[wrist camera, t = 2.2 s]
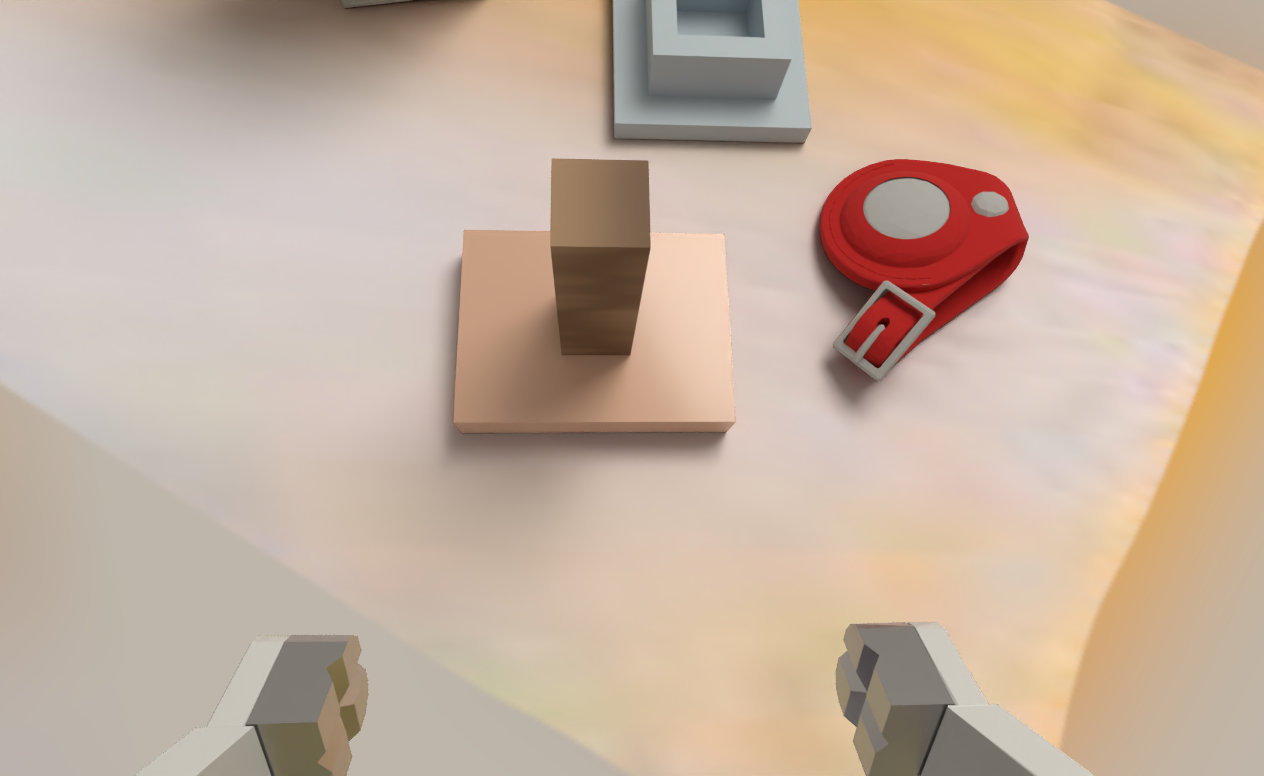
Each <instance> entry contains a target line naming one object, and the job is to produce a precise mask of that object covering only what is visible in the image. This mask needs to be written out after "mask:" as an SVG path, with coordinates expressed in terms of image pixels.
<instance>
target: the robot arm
mask: <svg viewBox="0 0 1264 776" xmlns="http://www.w3.org/2000/svg"><path fill="white" fill-rule="evenodd" d="M843 640H844V643H845V645H846V648H847V650H848V651H846V652H845V653H844V654H843V655H842V656H840V657H839V658H838V663H837V668H836V690H837V695H838V699H839V703H840V706H841V709H842V712H843V715H844V716H845V717H846V718H847V719H848V720H849V721H850V722H851V723H852V724H854V725H855V726H856V727H857V728H856V732H855V735H854V739H853V742H854V745H855V748H856V750H857V753H858V756H859V759H860V761H861V764H862V767H863V769H864V772H865V775H866V776H1095V775H1093V774H1092V773H1090V772H1089V771H1088V770H1086V769H1085V768H1084V767H1082V766H1081V765H1079V764H1078V763H1077V762H1076V761H1074V760H1073V759H1071V758H1070V757H1069V756H1067V755H1066V754H1065V753H1063V752H1062V751H1061V750H1059V749H1058V748H1057V747H1055V746H1054V745H1052V744H1051V743H1050V742H1048V741H1047V740H1046V739H1044V738H1043V737H1042V736H1040V735H1039V734H1037V733H1036V732H1035V731H1033V730H1032V729H1031V728H1029V727H1028V726H1027V725H1025V724H1024V723H1022V722H1021V721H1020V720H1018V719H1017V718H1016V717H1014V716H1013V715H1012V714H1010V713H1009V712H1008V711H1006V710H1005V709H1003V708H1002V707H1001V706H999V705H998V704H989V703H988V702H987V700H986V698H985V697H984V695H983V693H982V692H981V690H980V688H979V686H978V685H977V683H976V681H975V680H974V678H973V676H972V674H971V673H970V671H969V669H968V668H967V666H966V664H965V663H964V661H963V659H962V657H961V656H960V654H959V652H958V651H957V649H956V647H955V645H954V644H953V642H952V640H951V639H950V637H949V635H948V634H947V632H946V630H945V628H944V627H943V626H942V625H941V624H940V623H938V622H909V623H905V622H896V623H867V624H850V625H849V626H848V628H847V629H846V632H845V635H844V639H843ZM360 653H361V647H360V644H359V640H358V637H357V636H354V635H276V636H275V635H270V636H269V635H260V636H258V637H257V638H256V639H255V640H254V641H253V642H252V643H251V644H250V645H249V647H248V649H247V651H246V653H245V655H244V656H243V659H242V660H241V662H240V664H239V666H238V668H237V670H236V672H235V673H234V676H233V677H232V679H231V681H230V683H229V685H228V687H227V688H226V690H225V692H224V694H223V696H222V698H221V700H220V702H219V703H218V706H217V707H216V709H215V711H214V713H213V715H212V717H211V719H210V720H209V722H208V724H207V726H206V727H199V728H195V729H194V730H192V731H191V732H190V733H188V734H187V735H186V736H185V737H183V738H182V739H181V740H179V741H178V742H177V743H176V744H174V745H173V746H172V747H170V748H169V749H168V750H167V751H165V752H164V753H163V754H162V755H160V756H159V757H158V758H157V759H155V760H154V761H153V762H151V763H150V764H149V765H147V766H146V767H145V768H144V769H142V770H141V771H140V772H138V773H137V774H136V775H135V776H346V775H347V771H348V768H349V765H350V762H351V759H352V754H351V750H350V746H349V741H350V740H351V739H352V738H353V737H354V736H355V735H356V734H357V733H358V732H359V731H360V730H361V727H362V723H363V720H364V717H365V713H366V706H367V699H368V679H367V674H366V670H365V669H364V668H363V667H362V666H361V665H359V664H358V663H357V662H358V659H359V656H360Z"/></svg>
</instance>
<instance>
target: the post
mask: <svg viewBox="0 0 1264 776" xmlns="http://www.w3.org/2000/svg"><path fill="white" fill-rule="evenodd" d="M550 249H551V258H552V268H553V277H554V287H555V296H556V306H557V315H558V325H559V334H560V344H561V353H562V355H631V349H632V344H633V339H634V334H635V328H636V323H637V318H638V312H639V307H640V302H641V296H642V291H643V286H644V281H645V275H646V270H647V265H648V259H649V254H650V249H651V240H650V205H649V169H648V161H638V160H592V159H552V169H551V230H550Z"/></svg>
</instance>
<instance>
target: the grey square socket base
mask: <svg viewBox="0 0 1264 776" xmlns="http://www.w3.org/2000/svg"><path fill="white" fill-rule="evenodd" d="M612 6H613V85H614V138H623V139H665V140H706V141H748V142H789V143H805V141H806V139H807V137H808V135H809V133H810V130H811V118H810V109H809V99H808V90H807V80H806V71H805V61H804V52H803V42H802V33H801V23H800V13H799V4H798V0H612Z"/></svg>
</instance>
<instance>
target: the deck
mask: <svg viewBox="0 0 1264 776" xmlns="http://www.w3.org/2000/svg"><path fill="white" fill-rule="evenodd" d="M650 240H651V249H650V254H649V259H648V265H647V270H646V275H645V281H644V286H643V291H642V296H641V302H640V307H639V312H638V318H637V323H636V328H635V334H634V339H633V344H632V349H631V355H562V353H561V344H560V334H559V325H558V315H557V306H556V296H555V287H554V277H553V268H552V258H551V249H550V231H498V230H464V235H463V253H462V271H461V289H460V308H459V326H458V344H457V362H456V380H455V398H454V416H453V423H454V424H455V425H456V427H457V428H458V429H459V430H460V432H461V433H547V432H727V431H728V430H729V429H730V428H731V427H732V425H733V424H734V423H735V422H736V416H735V400H734V383H733V367H732V351H731V334H730V318H729V301H728V285H727V269H726V252H725V236H724V234H696V233H650Z"/></svg>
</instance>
